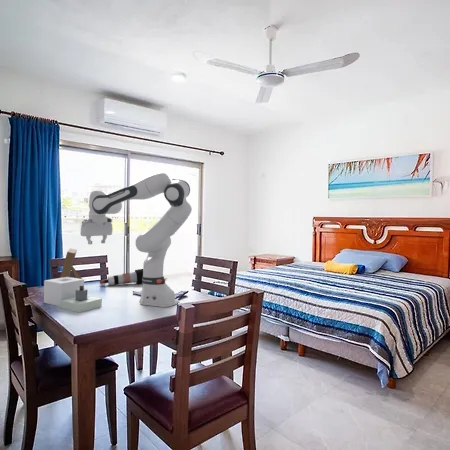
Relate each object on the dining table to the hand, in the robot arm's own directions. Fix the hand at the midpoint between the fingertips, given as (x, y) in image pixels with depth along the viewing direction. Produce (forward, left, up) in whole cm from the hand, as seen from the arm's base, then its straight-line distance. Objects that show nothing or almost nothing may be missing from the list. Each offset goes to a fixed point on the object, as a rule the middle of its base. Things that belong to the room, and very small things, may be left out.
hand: (96, 243), depth 191 cm
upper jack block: (+9, +14, -32) cm, 35 cm away
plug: (-7, +16, -31) cm, 35 cm away
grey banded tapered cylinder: (+15, -40, -32) cm, 54 cm away
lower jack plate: (-7, +16, -32) cm, 36 cm away
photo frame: (+33, -9, -32) cm, 47 cm away
